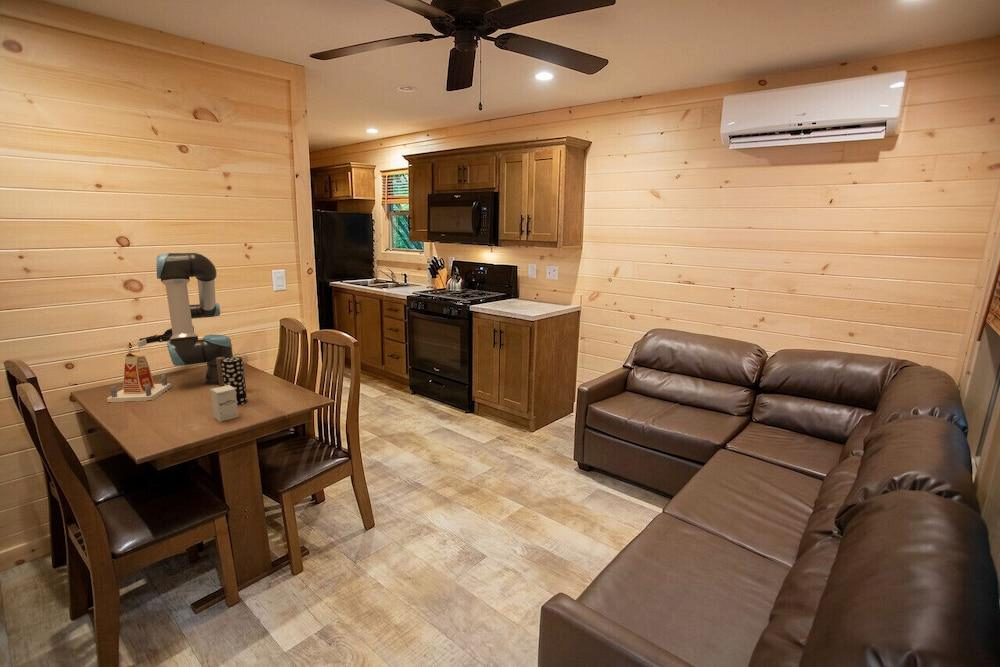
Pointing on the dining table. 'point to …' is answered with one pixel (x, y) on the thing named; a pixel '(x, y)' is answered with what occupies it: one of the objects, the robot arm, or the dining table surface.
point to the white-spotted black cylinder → (234, 377)
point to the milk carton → (136, 373)
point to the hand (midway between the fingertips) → (153, 344)
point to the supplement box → (224, 403)
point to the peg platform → (146, 396)
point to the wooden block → (221, 371)
